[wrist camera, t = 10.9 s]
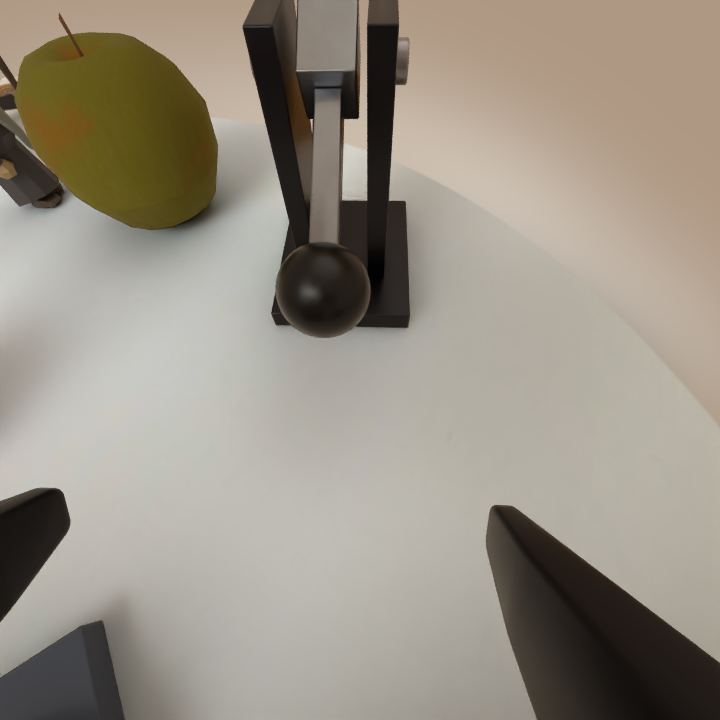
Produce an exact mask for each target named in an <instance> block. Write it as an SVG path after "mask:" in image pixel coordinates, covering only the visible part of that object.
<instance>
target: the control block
mask: <svg viewBox="0 0 720 720" xmlns="http://www.w3.org/2000/svg"><path fill="white" fill-rule="evenodd" d="M0 720H124V716H123V711H122V707H121V702H120V698H119V694H118V689H117V685H116V680H115V676H114V671H113V667H112V662H111V658H110V653H109V649H108V644H107V640H106V636H105V631H104V627H103V622H102V620H100V621H97V622H93V623H89V624H86V625H82V626H80V627H78V628H77V629H75V630H74V631H72V632H70V633H69V634H67V635H66V636H64V637H63V638H61V639H60V640H58V641H57V642H55V643H53V644H52V645H50V646H49V647H47V648H46V649H44V650H43V651H41V652H40V653H38V654H36V655H35V656H33V657H32V658H30V659H29V660H27V661H26V662H24V663H23V664H21V665H19V666H18V667H16V668H15V669H13V670H12V671H10V672H9V673H7V674H5V675H4V676H2V677H1V678H0Z"/></svg>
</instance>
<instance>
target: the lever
mask: <svg viewBox="0 0 720 720" xmlns="http://www.w3.org/2000/svg"><path fill="white" fill-rule="evenodd" d="M358 1H359V0H297V30H296V61H295V72H296V76H297V80H298V84H299V88H300V91H301V95H302V99H303V103H304V107H305V111H306V115H307V118H308V119H313V132H312V163H311V195H310V227H309V243H308V244H305V245H303V246H301V247H299V248H297V249H296V250H294V251H293V252H292V253H291V254H290V255H289V256H288V257H287V258H286V259H285V261H284V262H283V264H282V266H281V267H280V270H279V272H278V275H277V280H276V298H277V302H278V305H279V308H280V310H281V312H282V314H283V315H284V317H285V318H286V320H287V321H288V322H289V323H290V324H291V325H292V326H293V327H294V328H296V329H297V330H299V331H300V332H302V333H304V334H307V335H309V336H313V337H319V338H330V337H336V336H339V335H342V334H344V333H346V332H348V331H349V330H351V329H352V328H353V327H355V326H356V325H357V324H358V323H359V322H360V320H361V319H362V318H363V316H364V314H365V312H366V311H367V308H368V305H369V301H370V295H371V285H370V280H369V276H368V273H367V271H366V269H365V266H364V265H363V263H362V262H361V261H360V259H359V258H358V257H357V256H356V255H355V254H354V253H353V252H352V251H350V250H349V249H347V248H346V247H344V246H342V245H341V211H342V175H343V139H344V119H358V118H359V95H360V58H361V56H360V55H361V54H360V27H359V2H358Z"/></svg>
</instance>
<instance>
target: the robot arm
mask: <svg viewBox="0 0 720 720" xmlns="http://www.w3.org/2000/svg"><path fill="white" fill-rule="evenodd" d="M69 527H70V516H69V512H68V509H67V505H66V501H65V497H64V494H63V492H62V491H61V490H60V489H57V488H36V489H33V490H30V491H27V492H25V493H22V494H19V495H16V496H14V497H11V498H8V499H5V500H3V501H0V622H1V621H2V620H3V618H4V617H5V616H6V615H7V613H8V612H9V611H10V610H11V608H12V607H13V606H14V604H15V603H16V602H17V600H18V599H19V598H20V597H21V595H22V594H23V592H24V591H25V590H26V588H27V587H28V586H29V584H30V583H31V581H32V580H33V579H34V577H35V576H36V575H37V573H38V572H39V571H40V569H41V568H42V566H43V565H44V564H45V562H46V561H47V560H48V558H49V557H50V555H51V554H52V553H53V551H54V550H55V549H56V547H57V546H58V545H59V543H60V542H61V540H62V539H63V538H64V536H65V535H66V533H67V532H68V530H69ZM486 548H487V553H488V557H489V561H490V565H491V569H492V573H493V578H494V582H495V586H496V590H497V594H498V598H499V602H500V606H501V610H502V614H503V618H504V622H505V626H506V629H507V633H508V637H509V640H510V643H511V646H512V649H513V652H514V655H515V658H516V661H517V663H518V666H519V669H520V672H521V675H522V678H523V681H524V683H525V686H526V689H527V692H528V695H529V698H530V701H531V703H532V706H533V709H534V712H535V715H536V718H537V720H720V663H719V662H718V661H717V660H715V659H714V658H713V657H711V656H710V655H709V654H707V653H706V652H705V651H703V650H702V649H701V648H699V647H698V646H697V645H696V644H694V643H693V642H692V641H690V640H689V639H688V638H686V637H685V636H684V635H682V634H681V633H680V632H678V631H677V630H676V629H674V628H673V627H672V626H671V625H669V624H668V623H667V622H665V621H664V620H663V619H661V618H660V617H659V616H657V615H656V614H655V613H653V612H652V611H651V610H649V609H648V608H647V607H645V606H644V605H643V604H642V603H640V602H639V601H638V600H636V599H635V598H634V597H632V596H631V595H630V594H628V593H627V592H626V591H624V590H623V589H622V588H620V587H619V586H618V585H616V584H615V583H614V582H613V581H611V580H610V579H609V578H607V577H606V576H605V575H603V574H602V573H601V572H599V571H598V570H597V569H595V568H594V567H593V566H591V565H590V564H589V563H587V562H586V561H585V560H584V559H582V558H581V557H580V556H578V555H577V554H576V553H574V552H573V551H572V550H570V549H569V548H568V547H566V546H565V545H564V544H562V543H561V542H560V541H559V540H557V539H556V538H555V537H553V536H552V535H551V534H549V533H548V532H547V531H545V530H544V529H543V528H541V527H540V526H539V525H537V524H536V523H535V522H533V521H532V520H531V519H530V518H528V517H527V516H526V515H524V514H523V513H522V512H520V511H519V510H518V509H516V508H515V507H513V506H507V505H494V506H492V507H491V509H490V513H489V520H488V527H487V534H486Z"/></svg>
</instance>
